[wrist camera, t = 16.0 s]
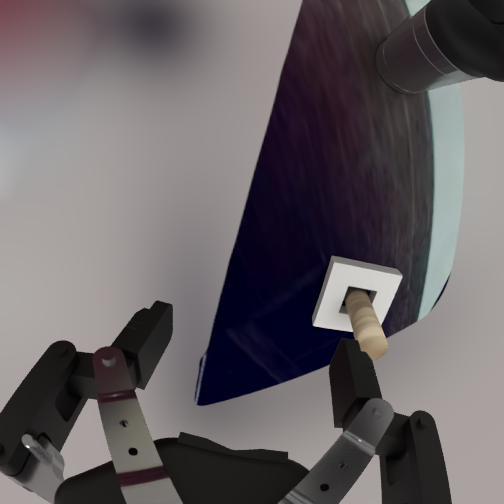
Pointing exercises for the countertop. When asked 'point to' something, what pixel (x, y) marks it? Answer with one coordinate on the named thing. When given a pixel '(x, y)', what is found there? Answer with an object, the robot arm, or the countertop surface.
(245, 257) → the countertop surface
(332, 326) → the socket plate
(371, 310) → the peg
